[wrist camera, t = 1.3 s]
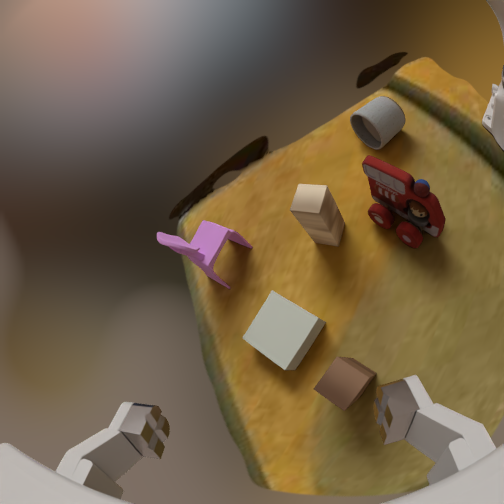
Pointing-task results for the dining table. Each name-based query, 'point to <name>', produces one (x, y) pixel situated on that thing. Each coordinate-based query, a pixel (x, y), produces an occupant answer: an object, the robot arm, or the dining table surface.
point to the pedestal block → (283, 331)
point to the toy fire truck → (402, 202)
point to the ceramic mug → (378, 121)
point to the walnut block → (344, 381)
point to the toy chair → (204, 246)
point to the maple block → (318, 214)
